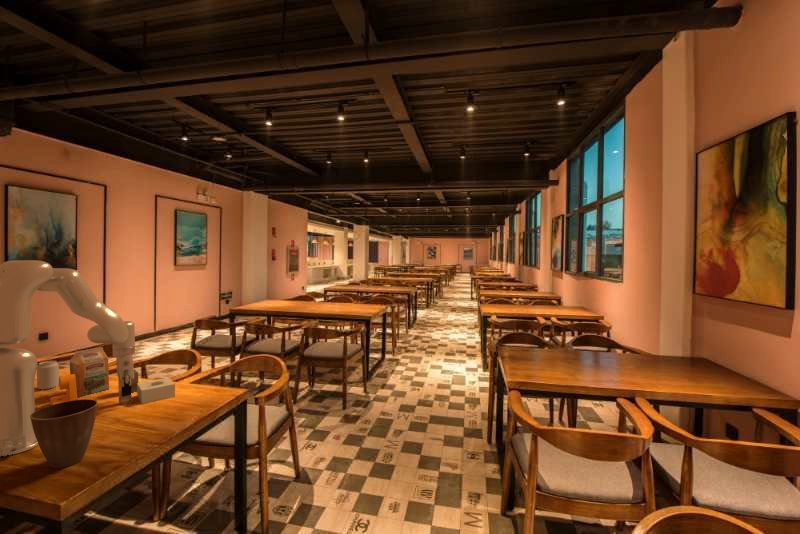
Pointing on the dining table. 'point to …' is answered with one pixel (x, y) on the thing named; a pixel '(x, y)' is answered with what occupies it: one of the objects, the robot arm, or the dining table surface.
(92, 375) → the milk carton
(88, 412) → the plant pot
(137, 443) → the dining table surface
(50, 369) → the can
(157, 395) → the bore block
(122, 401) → the birch dowel
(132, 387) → the walnut square bit
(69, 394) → the bracket
